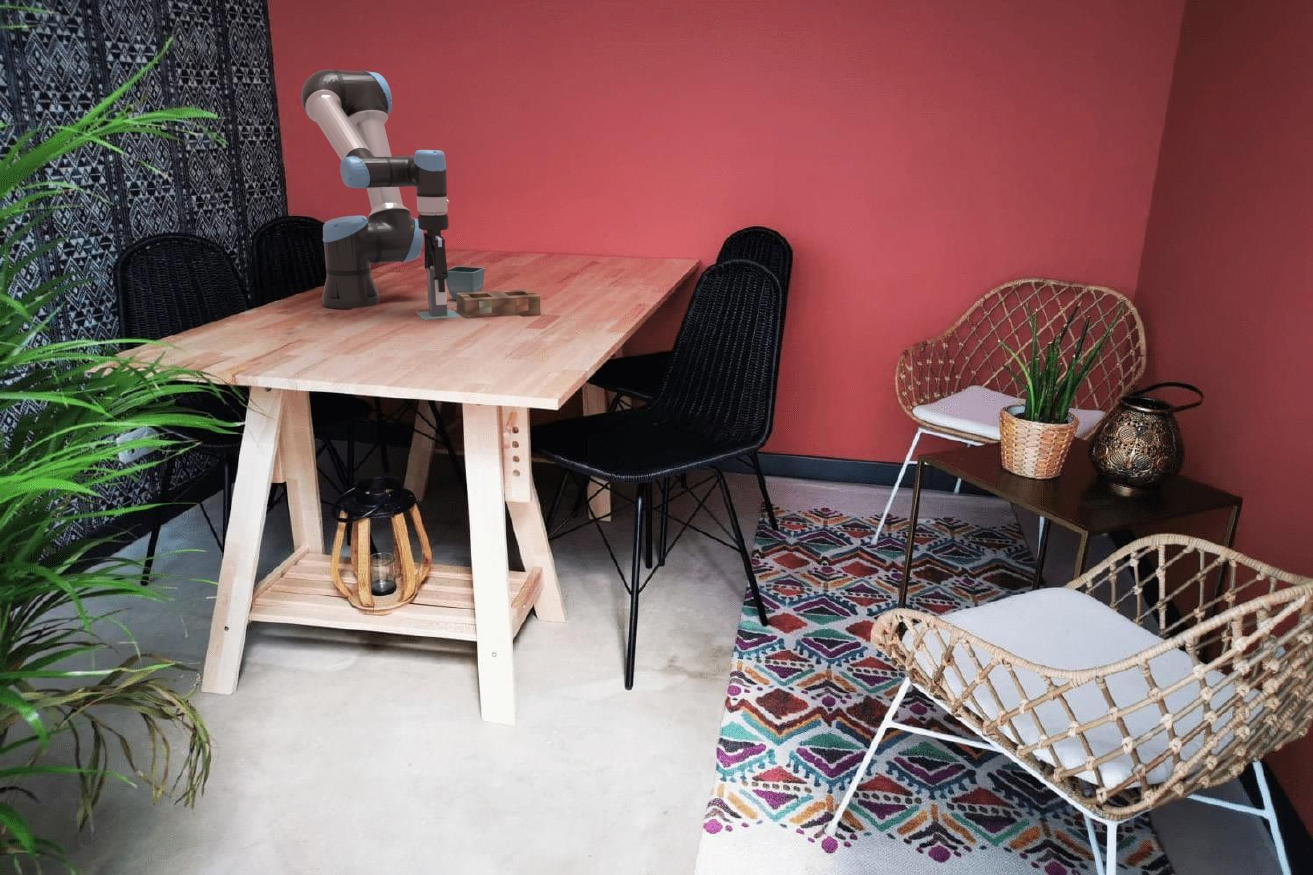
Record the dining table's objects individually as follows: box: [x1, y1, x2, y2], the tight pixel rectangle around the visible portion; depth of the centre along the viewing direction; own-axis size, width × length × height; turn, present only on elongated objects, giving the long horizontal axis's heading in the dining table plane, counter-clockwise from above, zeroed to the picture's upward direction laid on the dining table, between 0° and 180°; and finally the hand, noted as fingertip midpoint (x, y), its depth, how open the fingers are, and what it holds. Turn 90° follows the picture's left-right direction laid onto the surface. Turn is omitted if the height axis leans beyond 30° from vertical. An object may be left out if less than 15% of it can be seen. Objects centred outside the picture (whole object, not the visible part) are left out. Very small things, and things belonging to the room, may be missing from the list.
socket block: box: [455, 288, 542, 319], centre depth 252 cm, size 20×11×5 cm, turn 114°
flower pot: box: [446, 265, 486, 301], centre depth 267 cm, size 9×9×9 cm
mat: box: [415, 309, 462, 321], centre depth 247 cm, size 10×10×1 cm
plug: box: [426, 266, 448, 316], centre depth 245 cm, size 4×4×13 cm
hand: (437, 301), depth 246 cm, fingers open, 9 cm apart
